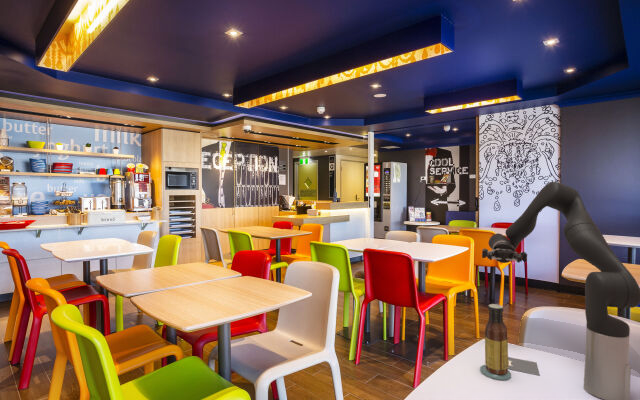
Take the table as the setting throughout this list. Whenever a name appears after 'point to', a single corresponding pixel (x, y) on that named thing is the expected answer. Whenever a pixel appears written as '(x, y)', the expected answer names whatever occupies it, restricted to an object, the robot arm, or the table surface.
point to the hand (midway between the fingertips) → (504, 258)
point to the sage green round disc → (494, 376)
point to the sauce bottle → (496, 341)
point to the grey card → (523, 366)
